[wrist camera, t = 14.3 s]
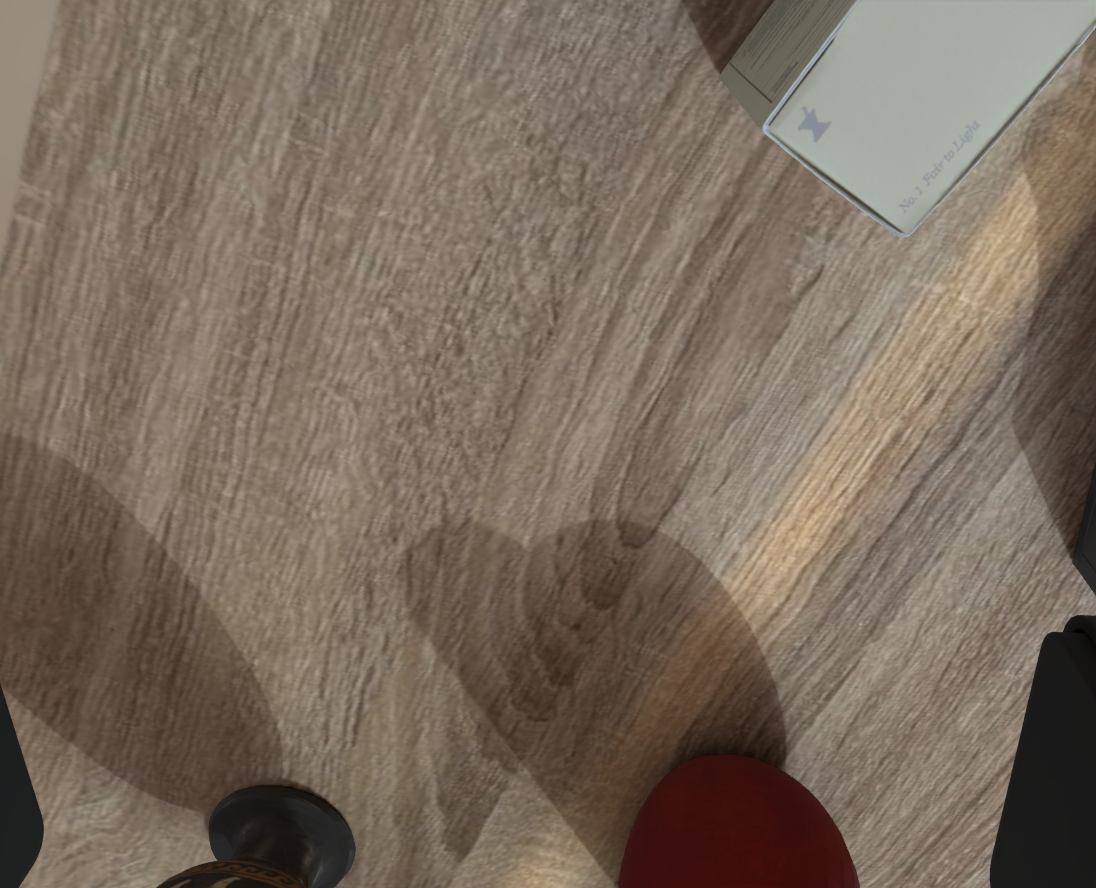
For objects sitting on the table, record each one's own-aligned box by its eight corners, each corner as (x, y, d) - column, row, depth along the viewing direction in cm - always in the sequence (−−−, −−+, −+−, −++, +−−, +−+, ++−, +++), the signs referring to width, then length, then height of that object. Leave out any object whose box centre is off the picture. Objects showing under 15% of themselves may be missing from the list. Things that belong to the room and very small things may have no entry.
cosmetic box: (815, 156, 34) (901, 257, 23) (711, 73, 33) (749, 136, 22) (956, -13, 32) (1126, 11, 21) (846, -108, 31) (965, -136, 20)
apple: (577, 796, 47) (564, 997, 38) (718, 669, 43) (739, 858, 34) (734, 896, 49) (756, 1109, 40) (880, 782, 45) (941, 989, 36)
